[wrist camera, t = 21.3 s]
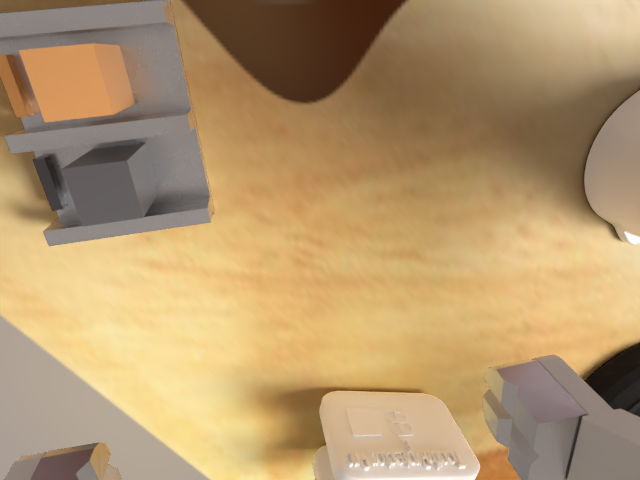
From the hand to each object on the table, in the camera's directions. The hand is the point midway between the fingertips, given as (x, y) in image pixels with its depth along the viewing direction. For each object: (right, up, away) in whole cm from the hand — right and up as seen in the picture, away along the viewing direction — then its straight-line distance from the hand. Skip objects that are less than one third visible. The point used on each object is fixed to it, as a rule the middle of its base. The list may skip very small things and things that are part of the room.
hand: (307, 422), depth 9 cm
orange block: (-16, +16, +21) cm, 31 cm away
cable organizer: (+6, -17, +42) cm, 46 cm away
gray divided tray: (-16, +13, +23) cm, 31 cm away
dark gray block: (-15, +9, +24) cm, 30 cm away
